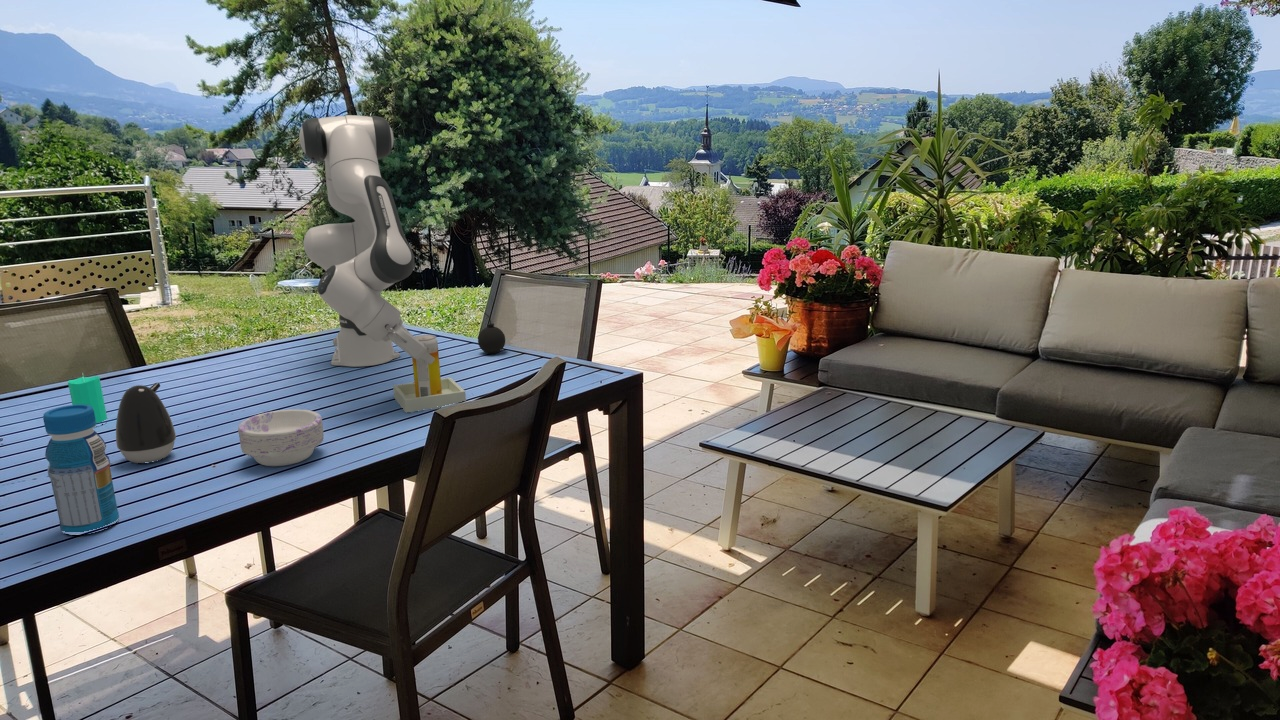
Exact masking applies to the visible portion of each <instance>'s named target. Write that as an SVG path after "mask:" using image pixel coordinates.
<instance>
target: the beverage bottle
mask: <svg viewBox="0 0 1280 720" xmlns="http://www.w3.org/2000/svg"><path fill="white" fill-rule="evenodd" d="M42 419H43V424H44V429H45V432H46V435H48V436H49V437H51V438H49V441H48V443H47V445H46V448H45V454H44V455H45V457H44V458H45V459H46V461H48V466H47V471H46V472H47V476H48V477H49V479H50V484H51V488H52V493H53V497H54V502H55V506H56V511H57V516H58V520H59V527H60V531H61V530H62V531H65V532H84V531H89V530H93V529H97V528H100V527H103V526H105V525H108V524H110V523H112V522H114V521H116V520H117V519H118V518H119V519H120V514H119V509H118V504H117V500H116V494H115V489H114V484H113V483H114V482H113V477H112V472H111V461H110V457H109V456H108V455H107V454H106V452H105V451H106V449H107V444H106V442H105V441H104V439H103V438H102V436H101V435H100V434H98V432H97V431H96V430H94V429H95V428H96V427H95V426H96V420H95V414H94V410H93V407H92V406H90V405H83V404H80V405H72V404H69V405H63V406H60V407H56V408H52V409H49V410H47V411H46V412H45V413H43V418H42ZM62 531H61V532H62Z"/></svg>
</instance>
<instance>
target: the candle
mask: <svg viewBox="0 0 1280 720" xmlns="http://www.w3.org/2000/svg"><path fill="white" fill-rule="evenodd" d="M67 384H68V389H69V393H70V400H71V405H80V404H83V405H90V406H92V407H93V410H94V414H95V420H96V423H99V422H102V421H104V420H106V419H108V415H107V408H106V404H105V399H104V394H103V393H104V392H103V389H102V383H101V377H100V376H97V375H95V376H91V377H86V376H84V372H82V377H81V376H80V377H78V378H75V379H72V380H71V379H69V380H68V382H67Z"/></svg>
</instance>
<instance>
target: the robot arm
mask: <svg viewBox="0 0 1280 720" xmlns="http://www.w3.org/2000/svg"><path fill="white" fill-rule="evenodd" d="M389 123H390V122H389V121H388V120H387V119H386V118H385V117H381V116H378V115H377V116H376V115H371V116H366V115H355V114H353V115H352V114H350V115H349V114H347V115H346V114H345V115H339V116H337V115H336V116H327V117H320V118H318V117H312V118H307V119H305V120H304V121H303V122H302V124H301V127H300V130H299V135H298V136H299V137H298V138H299V139H298V140H299V143H300V147H301V149H302V151H303V153H304V155H305V157H306V158H308V159H309V160H310V161H312V162H313V161H314V162H320V163H323V161H324V169H325V172H324V173H325V181H326V183H325V184H326V189H327V190H326V191H327V200H328V203H329V205H330V206H331V208H333V210H335V211H336V212H338V213H340V214H342V215H346V216H348V217H350V218H351V219H353V220H354V221H352V222H344V223H341V222H340V223H326V224H323V225H322V224H321V225H317V226H314V227H310V228H308V230H307V232H306V233H305V234H304V238H303V251H304V253H305V255H306V256H307V258H309V260H310V261H311V262H313V263H314V264H316V265H317V266H318V267H320V268H322V269H323V270H324V271H325V272H324V273H323V275H322V276H321V278H320V279H319V282H318V284H317V292H318V293H317V294H318V295H319V296H320V298H321V299H322V301H323V302H325V303H326V304H327V305H328V306H329V307H330V308H331V309H332V310H333V311H335V312H336V313H337V314H338V322H339V326H340V330H339V332H337V335H336V337H334V338H333V339H332V341H333V343H332V344H333V347H335V349H334V352H333V355H332V359H331V363H330V364H331V366H344V367H353V368H354V367H356V368H357V367H359V368H360V367H369V366H377V365H381V364H385V363H388V362H390V361H392V360H393V359H398V358H400V357H401V354H400V352H398V351H396V350H394V344H395V345H396V346H397V347H399V349H401V350H402V351H403V352H405V353H406V354H408V356H410V357H411V358H412V357H413V358H414V359H419V358H421V359H423V360H425V361H426V362H427V363H429V364H432V363H433V361H434V360H435V358H434V357H432V356H431V355H430V354H429V353H428V352H427V351H426V347H425V346H424V345H423V344H422V343H421V342H420V341H419V340H418V339H416V338H415V336H414V335H413V334H412V333H411V332H410V331H409V329H407V328H406V327H405V326H404V325H403V323H404V320H403V319H402V318H401V314H402V312H401V310H400V309H398V308H396V307H395V306H394V305H393V304H392V303H391V302H389V301H388V300H386V299H385V298H384V297H382V296H381V294H382V292H383V291H384V290H386V289H388V288H390V287H391V286H393V285H394V284H395V283H399V282H400V281H403V280H405V279H407V278H409V276H410V275H412V274H413V271H414V269H415V255H414V252H413V250H412V247H411V246H410V243H409V242H408V240H407V238H406V236H405V233H404V231H403V228H402V223H401V219H400V216H399V213H398V208H397V206H396V204H395V199H394V197H393V196H394V195H393V193H392V190H391V188H390V186H389V184H388V182H387V181H386V180H385V179H384V178H382V175H381V171H380V165H379V160H381V159H384V158H386V157H388V156H389V155H391V153H392V150H393V147H394V138H395V137H394V132H393V129H392V128H391V125H390V124H389Z"/></svg>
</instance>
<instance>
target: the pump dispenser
mask: <svg viewBox="0 0 1280 720" xmlns="http://www.w3.org/2000/svg"><path fill="white" fill-rule="evenodd" d="M160 387H161V384H160V383H159V382H155V383H154V384H152V385H151V386H150V387H148V386H146V385H143V384H141V385H140V384H138V385H137V384H136V385H133V386H131V387H129V388H127V389H126V391H125V392H124V393H123V395H122V397H121V399H120V402H119V406H118V408H117V416H116V423H115V442H116V443H115V444H116V447H117V449H118V450H119V451H120V453H121V455H122V456H123V457H124V458H125V459H126V460H127V461H129V462H131V463H134V464H138V463H145V462H152V461H157V460H159V461H161V460H160V459H162V458H163V459H165V458H166V457H168V456H169V455H170V454H171V453H172V450H173V449H174V447H175V440H176V439H177V434H176V430H175V426H174V425H173V421H172V418H171V416H170V414H169V412H168V410H167V407H166V406H165V404H164V403H163V401H162V399H161V398H160V397H159V396H158V394H157V393H156V392H157V391H158V389H159V388H160ZM163 459H162V460H163ZM157 462H158V461H157Z"/></svg>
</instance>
